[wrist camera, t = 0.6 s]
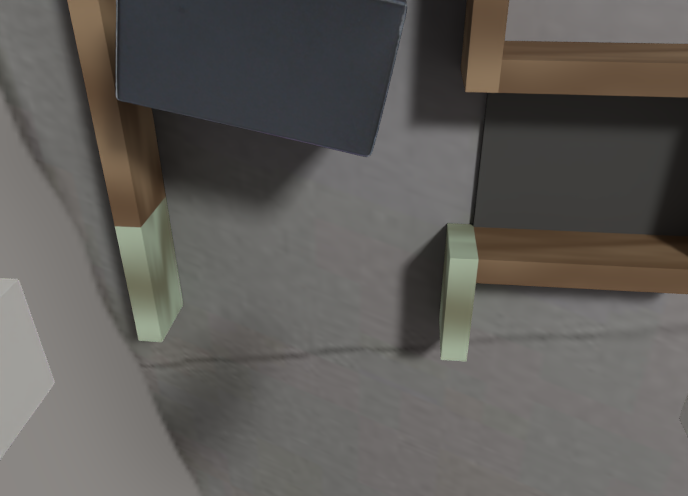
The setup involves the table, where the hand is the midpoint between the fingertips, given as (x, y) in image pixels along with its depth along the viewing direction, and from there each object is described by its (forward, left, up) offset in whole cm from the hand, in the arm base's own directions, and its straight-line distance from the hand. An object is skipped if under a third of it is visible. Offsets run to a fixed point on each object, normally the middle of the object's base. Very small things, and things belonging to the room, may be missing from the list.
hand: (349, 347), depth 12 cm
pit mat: (+5, +11, -24) cm, 27 cm away
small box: (-2, -5, -24) cm, 25 cm away
